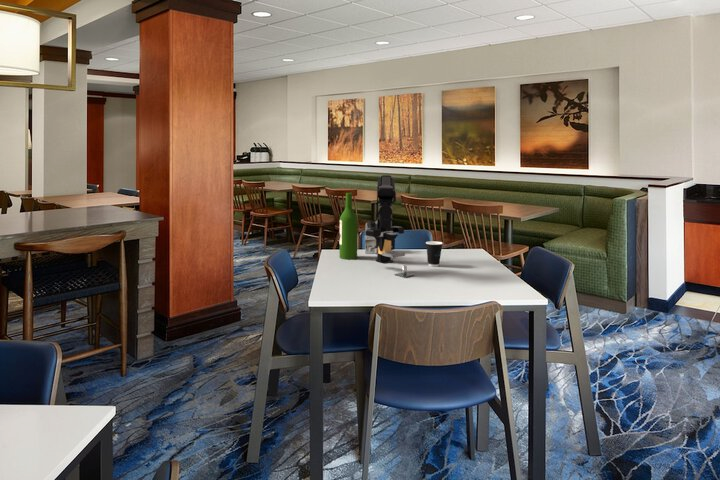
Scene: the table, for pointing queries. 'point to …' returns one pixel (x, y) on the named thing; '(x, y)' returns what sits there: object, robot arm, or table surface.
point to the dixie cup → (434, 252)
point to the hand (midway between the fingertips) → (384, 250)
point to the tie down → (386, 250)
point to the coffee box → (369, 242)
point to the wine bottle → (348, 231)
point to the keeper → (404, 272)
